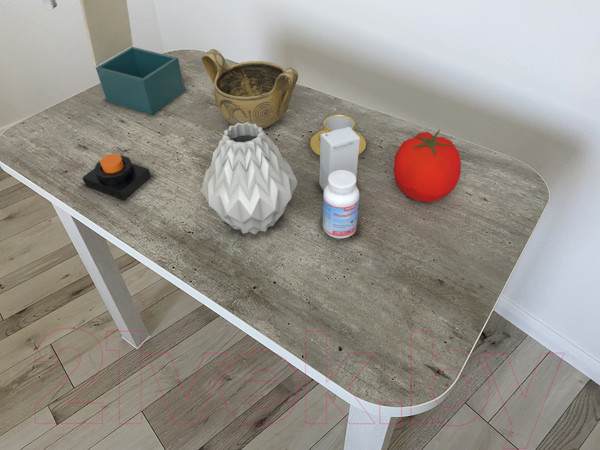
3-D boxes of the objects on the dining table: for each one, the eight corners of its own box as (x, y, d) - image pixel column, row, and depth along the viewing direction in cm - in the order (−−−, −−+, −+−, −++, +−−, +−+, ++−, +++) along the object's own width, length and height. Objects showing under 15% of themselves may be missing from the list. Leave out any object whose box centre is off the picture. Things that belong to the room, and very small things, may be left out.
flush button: (98, 170, 94) (95, 163, 92) (113, 159, 96) (110, 152, 95) (113, 176, 92) (111, 168, 91) (128, 164, 95) (125, 157, 93)
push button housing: (85, 186, 96) (78, 170, 93) (114, 164, 101) (108, 148, 98) (123, 201, 92) (117, 184, 90) (151, 177, 97) (146, 161, 95)
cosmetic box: (328, 198, 92) (330, 146, 83) (319, 185, 94) (319, 133, 86) (356, 189, 93) (360, 137, 85) (346, 176, 96) (349, 125, 88)
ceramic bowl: (194, 128, 110) (181, 66, 100) (234, 94, 121) (227, 34, 110) (279, 153, 102) (275, 88, 92) (314, 114, 113) (314, 53, 102)
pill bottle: (335, 244, 83) (337, 195, 75) (316, 224, 87) (316, 175, 79) (363, 231, 85) (368, 181, 77) (343, 211, 89) (346, 162, 81)
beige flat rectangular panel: (124, -18, 109) (121, -19, 110) (82, 1, 102) (79, -1, 102) (132, 45, 121) (130, 44, 121) (96, 66, 113) (93, 65, 113)
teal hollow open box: (185, 90, 122) (178, 57, 116) (152, 114, 115) (143, 80, 108) (140, 78, 128) (132, 46, 121) (106, 101, 120) (95, 67, 114)
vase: (233, 182, 96) (220, 99, 83) (310, 201, 91) (310, 115, 78) (191, 237, 85) (169, 151, 72) (277, 262, 80) (269, 174, 67)
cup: (343, 123, 110) (344, 102, 106) (377, 148, 103) (379, 126, 99) (299, 140, 105) (298, 119, 102) (331, 168, 98) (332, 146, 94)
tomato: (447, 169, 97) (459, 120, 89) (462, 215, 87) (476, 164, 79) (386, 170, 97) (392, 120, 89) (394, 215, 88) (402, 165, 80)
